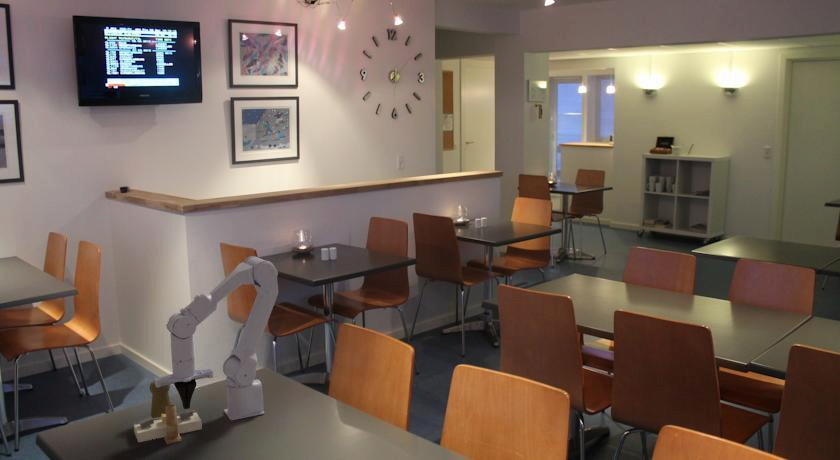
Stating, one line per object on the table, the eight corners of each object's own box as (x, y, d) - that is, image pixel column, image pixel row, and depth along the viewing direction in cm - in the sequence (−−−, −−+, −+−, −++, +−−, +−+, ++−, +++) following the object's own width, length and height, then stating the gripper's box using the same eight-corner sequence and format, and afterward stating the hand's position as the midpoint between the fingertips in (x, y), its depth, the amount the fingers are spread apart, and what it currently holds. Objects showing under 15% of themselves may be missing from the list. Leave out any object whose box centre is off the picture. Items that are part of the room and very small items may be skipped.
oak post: (178, 435, 191) (176, 402, 190) (181, 441, 188) (179, 407, 187) (164, 438, 190) (162, 405, 188) (167, 444, 186) (164, 410, 185)
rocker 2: (173, 418, 196) (173, 414, 196) (175, 421, 194) (175, 417, 194) (160, 418, 194) (161, 414, 194) (162, 421, 192) (163, 417, 192)
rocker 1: (152, 420, 193) (151, 416, 193) (154, 423, 191) (152, 419, 191) (140, 424, 192) (138, 420, 192) (141, 428, 190) (140, 424, 190)
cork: (166, 424, 199) (163, 385, 197) (146, 422, 200) (143, 384, 198) (177, 415, 205) (175, 377, 203) (158, 413, 206) (155, 376, 204)
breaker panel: (196, 419, 201) (195, 409, 201) (201, 429, 195) (201, 418, 195) (134, 432, 194) (133, 422, 193) (138, 442, 188) (137, 431, 187)
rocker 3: (191, 412, 198) (190, 408, 198) (193, 415, 196) (192, 411, 196) (179, 417, 197) (178, 413, 196) (181, 420, 195) (180, 416, 194)
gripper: (157, 367, 187) (160, 418, 189) (214, 358, 194) (217, 407, 196) (152, 360, 193) (155, 409, 195) (208, 350, 200) (211, 398, 202)
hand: (186, 407), depth 196 cm, fingers closed
